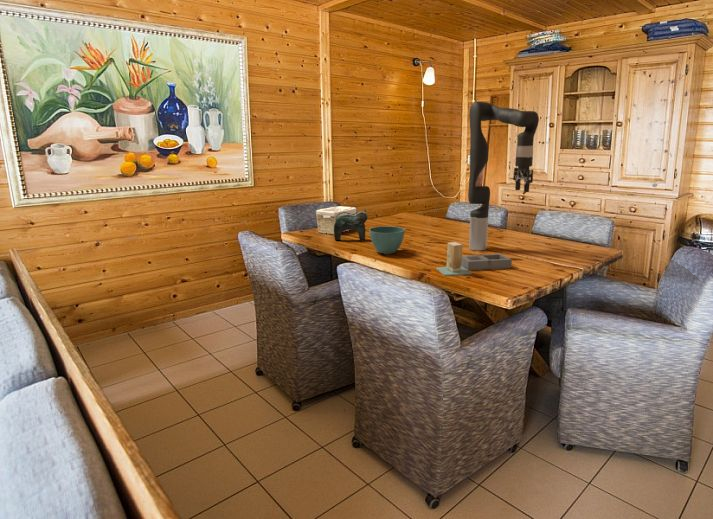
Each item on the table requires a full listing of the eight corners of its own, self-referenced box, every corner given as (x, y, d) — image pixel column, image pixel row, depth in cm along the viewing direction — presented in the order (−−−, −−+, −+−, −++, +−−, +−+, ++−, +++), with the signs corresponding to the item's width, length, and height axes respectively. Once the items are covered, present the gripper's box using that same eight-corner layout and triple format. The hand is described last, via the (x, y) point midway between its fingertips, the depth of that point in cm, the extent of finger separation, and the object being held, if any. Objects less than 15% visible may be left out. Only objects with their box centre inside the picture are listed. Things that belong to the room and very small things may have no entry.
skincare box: (445, 268, 222) (446, 242, 219) (454, 268, 223) (455, 241, 220) (453, 272, 216) (454, 245, 213) (461, 271, 217) (462, 244, 214)
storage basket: (339, 227, 329) (338, 205, 326) (358, 229, 320) (358, 207, 316) (315, 233, 311) (314, 209, 307) (335, 235, 301) (334, 212, 298)
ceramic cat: (367, 239, 290) (367, 205, 285) (367, 241, 284) (367, 207, 279) (334, 239, 291) (333, 205, 286) (333, 241, 284) (332, 207, 279)
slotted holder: (458, 264, 232) (459, 255, 231) (500, 261, 235) (500, 253, 234) (467, 270, 221) (468, 261, 220) (511, 267, 224) (511, 259, 223)
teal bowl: (407, 249, 263) (407, 226, 260) (400, 257, 246) (401, 233, 243) (374, 247, 268) (374, 225, 265) (365, 255, 251) (365, 232, 248)
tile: (436, 268, 224) (436, 267, 224) (461, 267, 226) (461, 266, 226) (444, 275, 213) (444, 274, 213) (471, 274, 215) (471, 272, 215)
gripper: (509, 155, 234) (507, 189, 238) (524, 156, 220) (521, 192, 224) (524, 155, 235) (522, 189, 239) (539, 156, 221) (537, 192, 225)
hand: (521, 191), depth 232 cm, fingers open, 8 cm apart
